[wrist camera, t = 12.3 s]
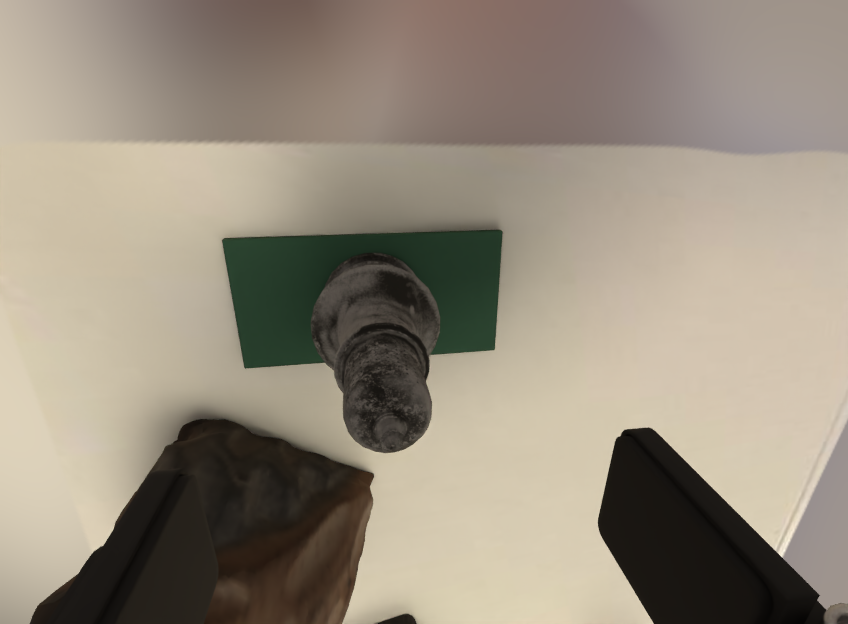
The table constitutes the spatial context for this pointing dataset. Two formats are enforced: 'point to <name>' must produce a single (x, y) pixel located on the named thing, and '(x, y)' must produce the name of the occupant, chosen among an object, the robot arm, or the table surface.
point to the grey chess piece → (378, 348)
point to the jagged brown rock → (269, 525)
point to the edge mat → (320, 255)
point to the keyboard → (400, 620)
